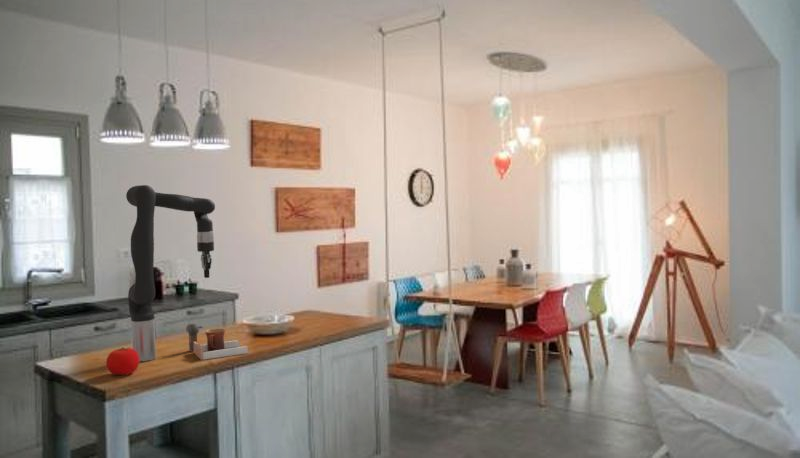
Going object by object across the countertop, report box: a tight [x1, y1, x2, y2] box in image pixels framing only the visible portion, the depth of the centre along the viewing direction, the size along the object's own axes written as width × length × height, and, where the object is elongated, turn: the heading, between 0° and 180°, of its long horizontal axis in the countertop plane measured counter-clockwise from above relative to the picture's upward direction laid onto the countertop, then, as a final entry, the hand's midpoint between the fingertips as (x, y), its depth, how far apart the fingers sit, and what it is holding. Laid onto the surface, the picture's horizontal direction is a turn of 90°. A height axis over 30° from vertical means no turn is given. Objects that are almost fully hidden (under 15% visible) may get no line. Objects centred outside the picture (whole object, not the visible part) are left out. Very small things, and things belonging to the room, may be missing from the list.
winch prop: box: [185, 322, 203, 353], centre depth 271 cm, size 7×4×12 cm, turn 120°
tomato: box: [105, 347, 141, 376], centre depth 234 cm, size 11×12×10 cm
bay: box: [193, 339, 249, 361], centre depth 265 cm, size 20×16×5 cm
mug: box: [204, 328, 226, 352], centre depth 263 cm, size 12×9×10 cm
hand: (206, 277), depth 282 cm, fingers closed
